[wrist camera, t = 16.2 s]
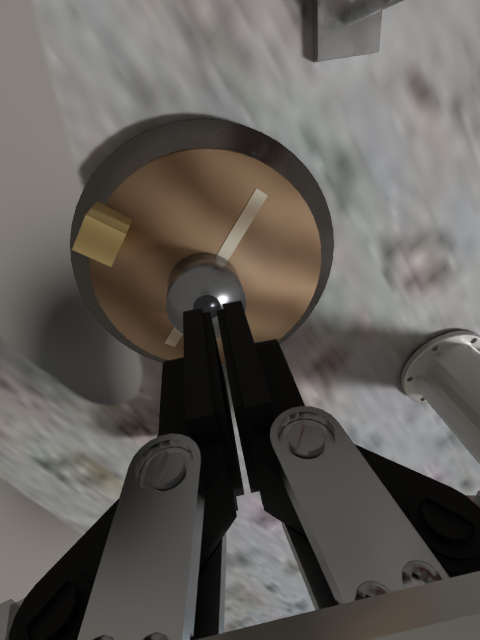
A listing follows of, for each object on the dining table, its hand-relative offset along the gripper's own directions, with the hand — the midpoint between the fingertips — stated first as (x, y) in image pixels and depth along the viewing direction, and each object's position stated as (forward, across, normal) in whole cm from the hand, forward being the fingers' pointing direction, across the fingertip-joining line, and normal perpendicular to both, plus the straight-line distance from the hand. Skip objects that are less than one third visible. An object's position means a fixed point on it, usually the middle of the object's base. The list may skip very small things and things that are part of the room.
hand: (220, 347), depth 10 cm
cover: (+22, +1, +9) cm, 24 cm away
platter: (+24, 0, +8) cm, 25 cm away
